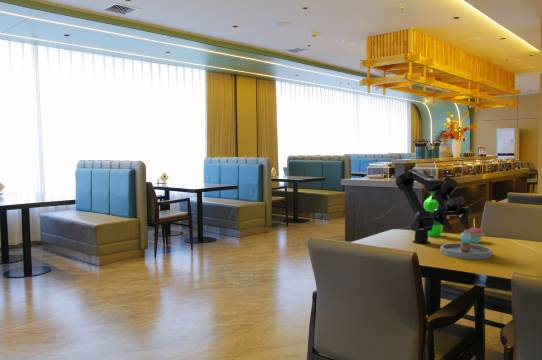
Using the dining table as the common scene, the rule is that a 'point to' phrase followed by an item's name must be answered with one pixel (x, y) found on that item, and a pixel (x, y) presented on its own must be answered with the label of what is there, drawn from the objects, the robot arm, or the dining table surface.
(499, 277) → the dining table surface
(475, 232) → the cupcake
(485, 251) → the groove tray
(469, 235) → the bead stack
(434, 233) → the plastic bottle
